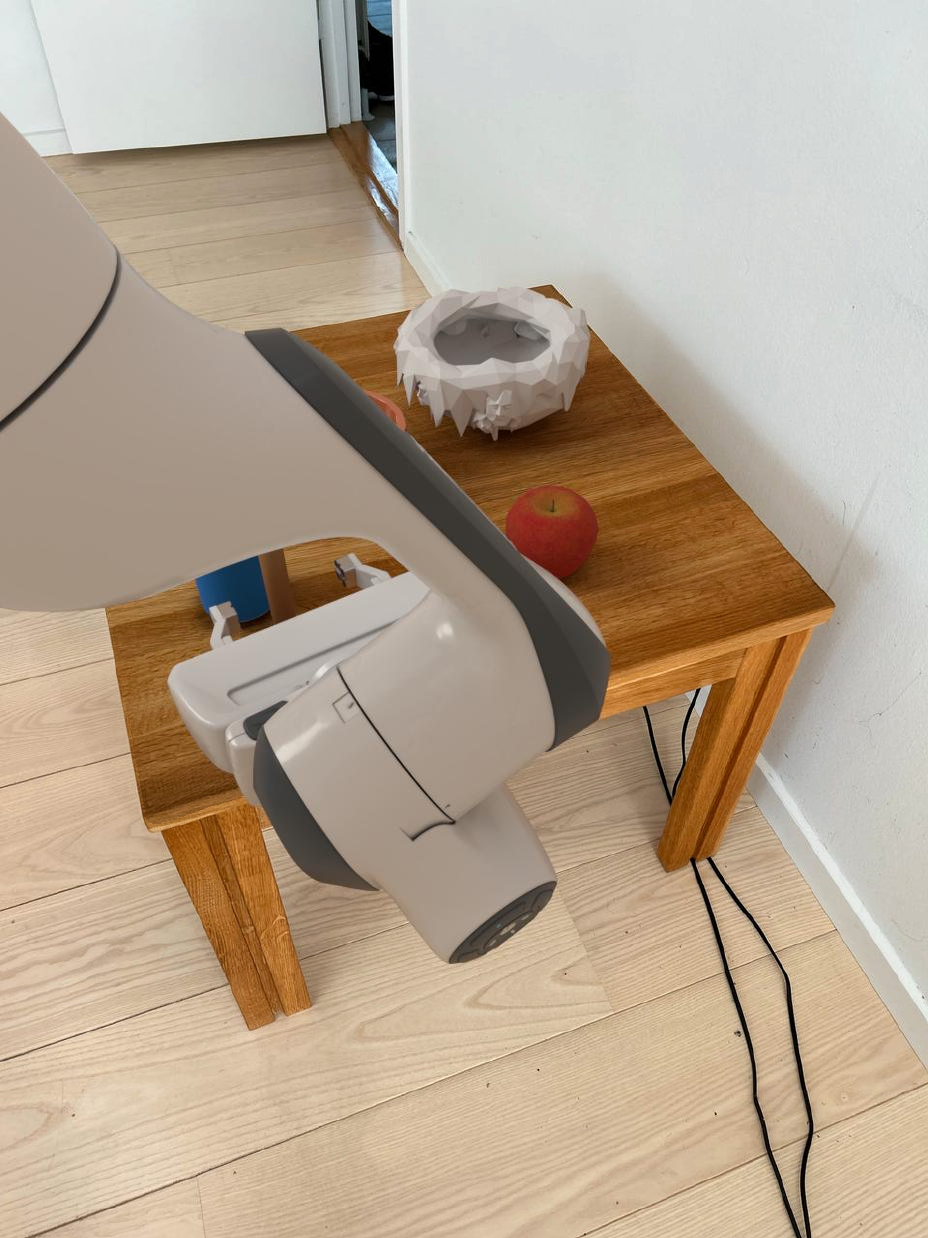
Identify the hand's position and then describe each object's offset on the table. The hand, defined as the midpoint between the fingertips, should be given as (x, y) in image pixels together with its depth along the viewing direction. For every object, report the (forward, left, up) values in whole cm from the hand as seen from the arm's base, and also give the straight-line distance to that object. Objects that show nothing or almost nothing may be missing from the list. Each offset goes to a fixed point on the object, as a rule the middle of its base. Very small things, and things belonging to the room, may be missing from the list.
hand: (283, 585), depth 66 cm
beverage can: (+3, +11, -11) cm, 16 cm away
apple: (+24, -6, -11) cm, 27 cm away
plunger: (+1, +2, -11) cm, 11 cm away
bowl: (+40, +14, -11) cm, 43 cm away
